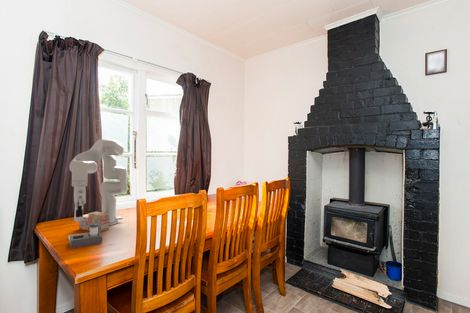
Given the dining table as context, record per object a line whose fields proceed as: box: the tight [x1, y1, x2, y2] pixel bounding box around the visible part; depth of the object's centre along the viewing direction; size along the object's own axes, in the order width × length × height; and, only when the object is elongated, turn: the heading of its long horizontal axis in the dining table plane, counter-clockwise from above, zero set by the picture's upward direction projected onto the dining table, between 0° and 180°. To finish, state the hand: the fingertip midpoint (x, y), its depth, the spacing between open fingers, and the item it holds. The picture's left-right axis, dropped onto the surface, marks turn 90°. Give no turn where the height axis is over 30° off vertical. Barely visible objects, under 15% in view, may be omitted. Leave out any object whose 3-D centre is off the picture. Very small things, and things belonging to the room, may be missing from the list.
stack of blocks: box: [78, 211, 110, 233], centre depth 169 cm, size 21×6×12 cm, turn 67°
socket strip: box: [69, 231, 103, 249], centre depth 142 cm, size 15×9×6 cm, turn 127°
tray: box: [67, 232, 88, 242], centre depth 151 cm, size 11×9×2 cm
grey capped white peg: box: [89, 223, 99, 237], centre depth 144 cm, size 4×4×10 cm
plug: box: [73, 203, 85, 222], centre depth 139 cm, size 4×4×10 cm
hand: (78, 215), depth 139 cm, fingers closed on plug, 4 cm apart
